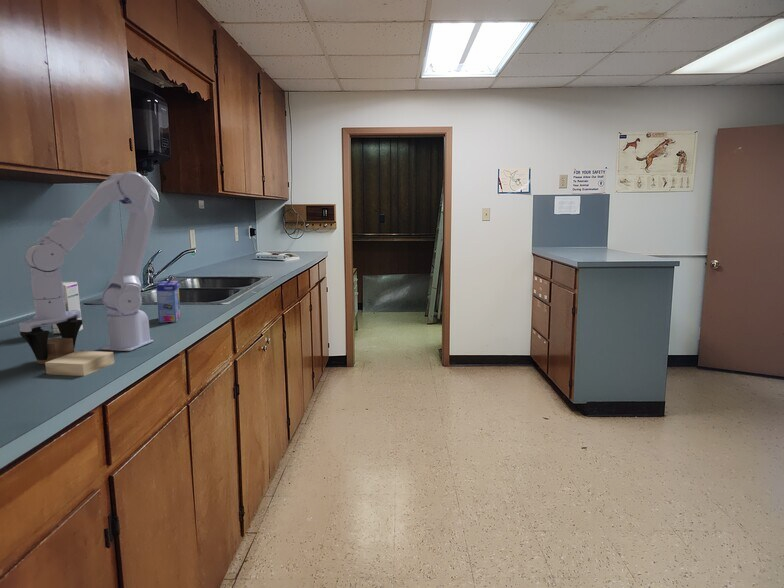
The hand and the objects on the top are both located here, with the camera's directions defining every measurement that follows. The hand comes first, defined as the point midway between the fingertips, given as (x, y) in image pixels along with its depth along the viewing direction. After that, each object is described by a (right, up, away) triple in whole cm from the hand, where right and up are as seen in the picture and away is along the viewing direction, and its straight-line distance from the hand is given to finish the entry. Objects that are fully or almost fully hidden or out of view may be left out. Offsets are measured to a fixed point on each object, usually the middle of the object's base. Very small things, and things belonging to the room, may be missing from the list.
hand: (56, 354), depth 111 cm
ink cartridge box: (+6, +6, +43) cm, 44 cm away
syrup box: (-16, +3, +28) cm, 32 cm away
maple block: (+9, -3, -5) cm, 11 cm away
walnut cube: (0, -2, 0) cm, 2 cm away
